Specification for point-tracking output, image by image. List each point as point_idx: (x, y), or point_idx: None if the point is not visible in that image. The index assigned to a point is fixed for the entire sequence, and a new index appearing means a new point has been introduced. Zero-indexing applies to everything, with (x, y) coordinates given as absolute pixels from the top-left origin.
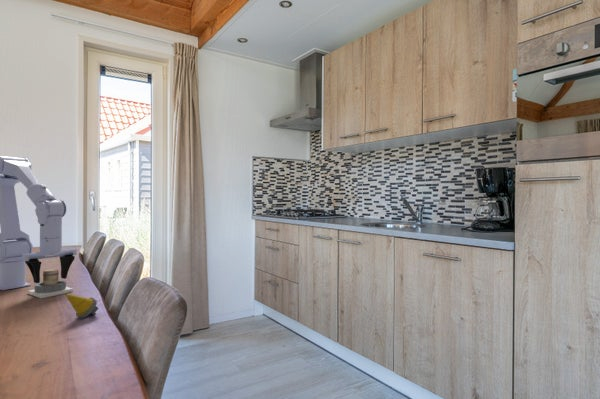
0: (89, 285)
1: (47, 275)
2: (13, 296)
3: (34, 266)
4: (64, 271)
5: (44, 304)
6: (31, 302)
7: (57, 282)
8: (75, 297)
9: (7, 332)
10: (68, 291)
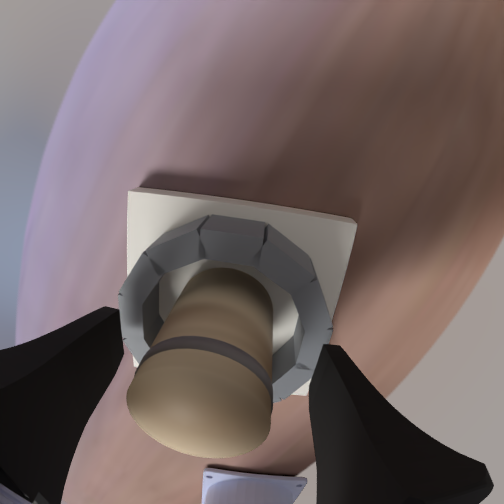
0: (25, 252)
1: (262, 368)
2: None
3: (451, 452)
4: (85, 350)
5: (423, 58)
6: (431, 177)
7: (184, 300)
8: None
9: None
10: (163, 192)
